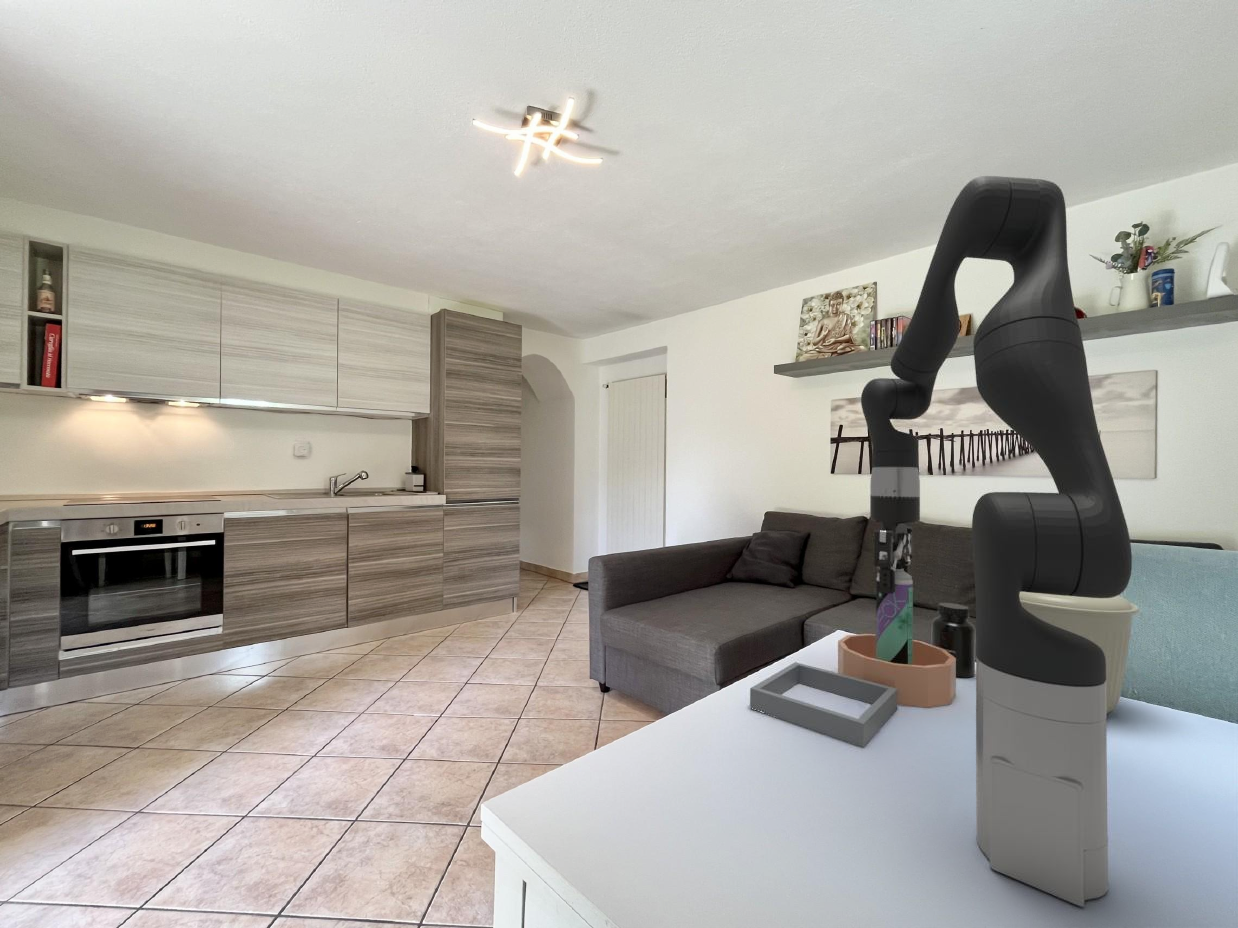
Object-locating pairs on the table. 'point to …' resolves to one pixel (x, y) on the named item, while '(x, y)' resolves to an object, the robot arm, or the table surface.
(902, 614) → the spray can
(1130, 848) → the table surface
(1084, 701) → the robot arm
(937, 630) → the supplement bottle
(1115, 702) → the canister
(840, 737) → the parts tray
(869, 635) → the bowl
